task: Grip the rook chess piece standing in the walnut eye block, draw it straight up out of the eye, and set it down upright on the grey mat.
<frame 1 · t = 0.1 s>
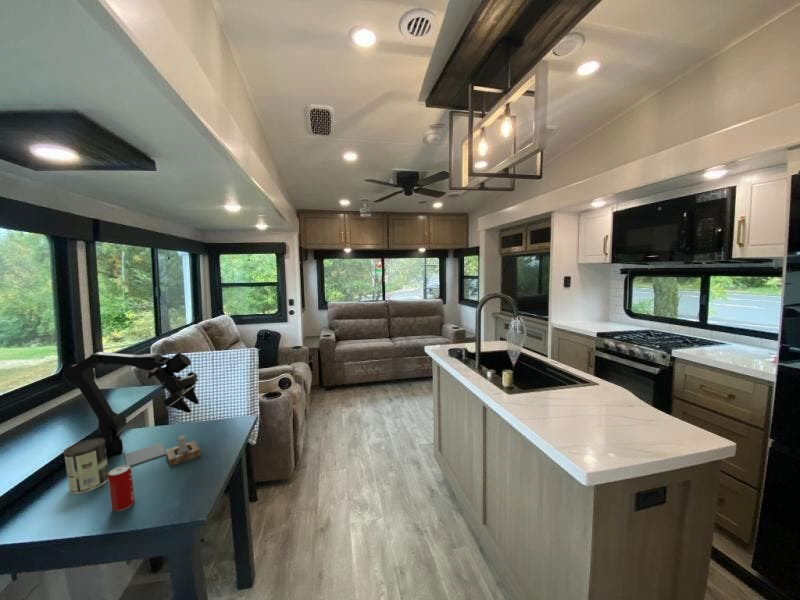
hand: (194, 407, 138), 15 cm above the table, tool tilted 30°, fingers open, 9 cm apart
walnut eye block: (183, 455, 129), on the table
grey mat: (145, 455, 130), on the table
coffee can: (89, 485, 113), on the table
rook chess piece: (183, 456, 129), resting in walnut eye block
soda can: (123, 506, 101), on the table
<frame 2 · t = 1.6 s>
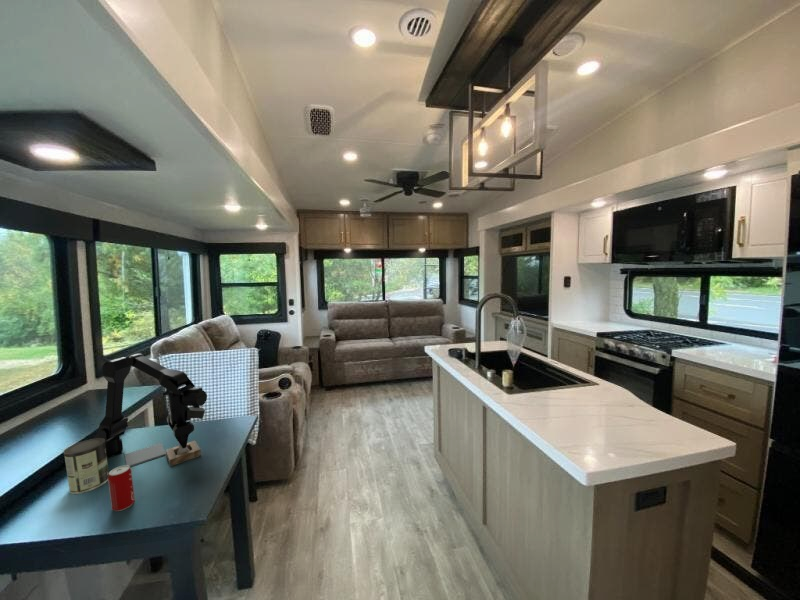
hand: (182, 443, 128), 5 cm above the table, tool pointing down, fingers open, 9 cm apart
nothing on the table moved.
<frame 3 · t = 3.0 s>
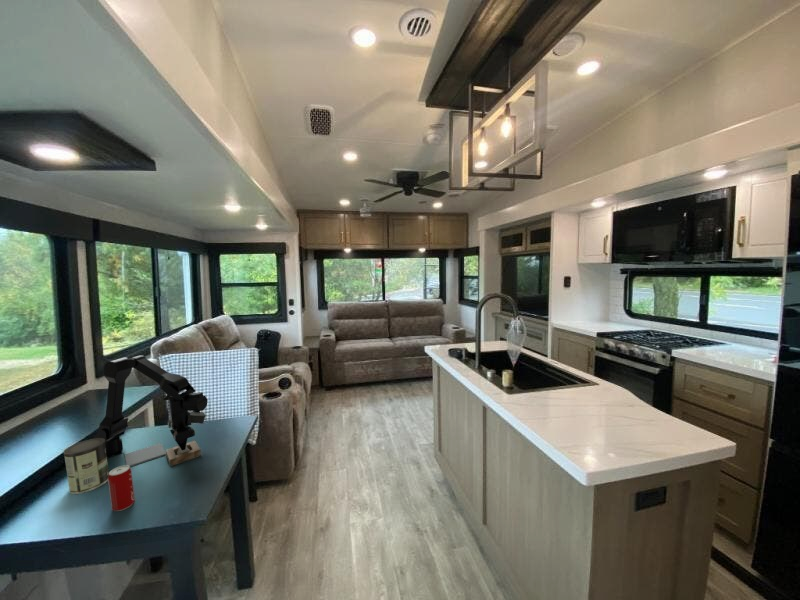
hand: (182, 448, 129), 3 cm above the table, tool pointing down, fingers closed on rook chess piece, 3 cm apart
rook chess piece: (183, 456, 129), resting in walnut eye block, touching gripper
everything else where it was.
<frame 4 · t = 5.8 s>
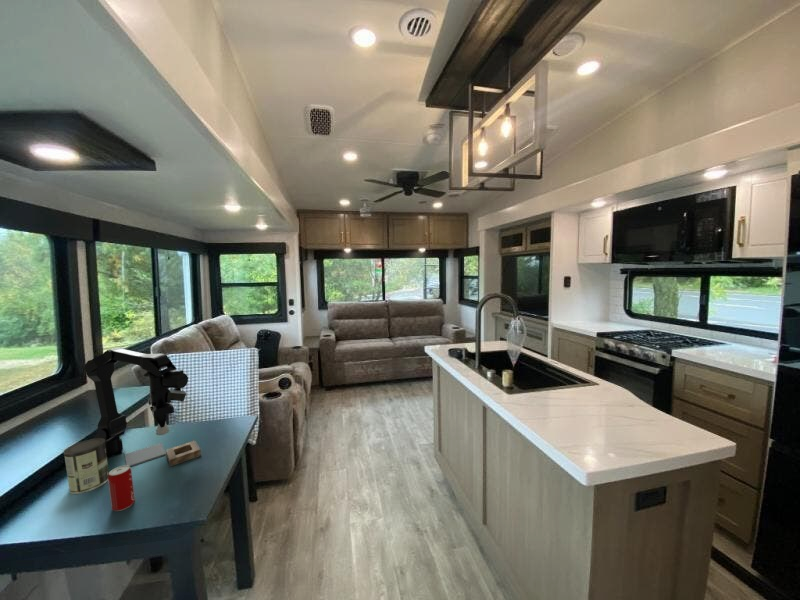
hand: (162, 425, 128), 12 cm above the table, tool pointing down, fingers closed on rook chess piece, 3 cm apart
rook chess piece: (162, 433, 129), point 9 cm above the table, touching gripper
everything else where it was.
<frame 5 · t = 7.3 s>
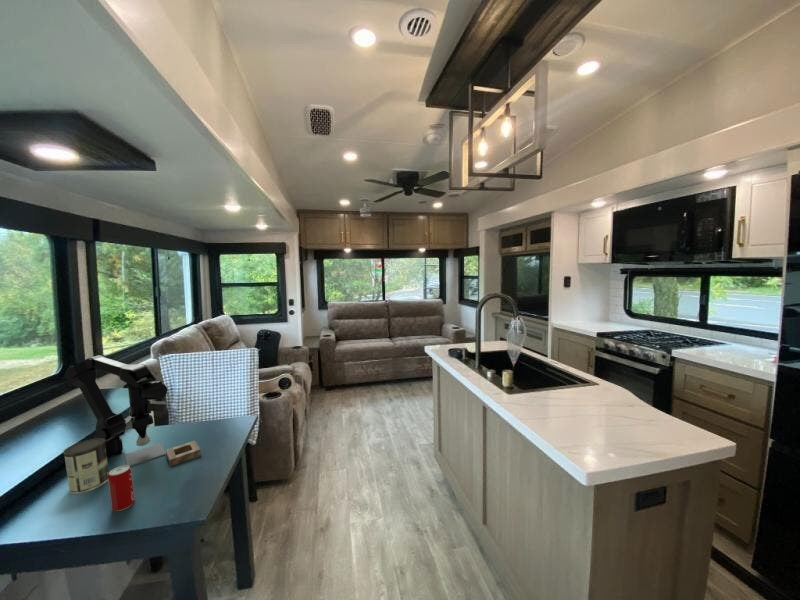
hand: (142, 436, 130), 8 cm above the table, tool pointing down, fingers closed on rook chess piece, 3 cm apart
rook chess piece: (143, 444, 130), point 5 cm above the table, touching gripper
everything else where it was.
when the fingers open (5 cm above the table, at t = 8.4 s): rook chess piece drops 1 cm, resting on grey mat.
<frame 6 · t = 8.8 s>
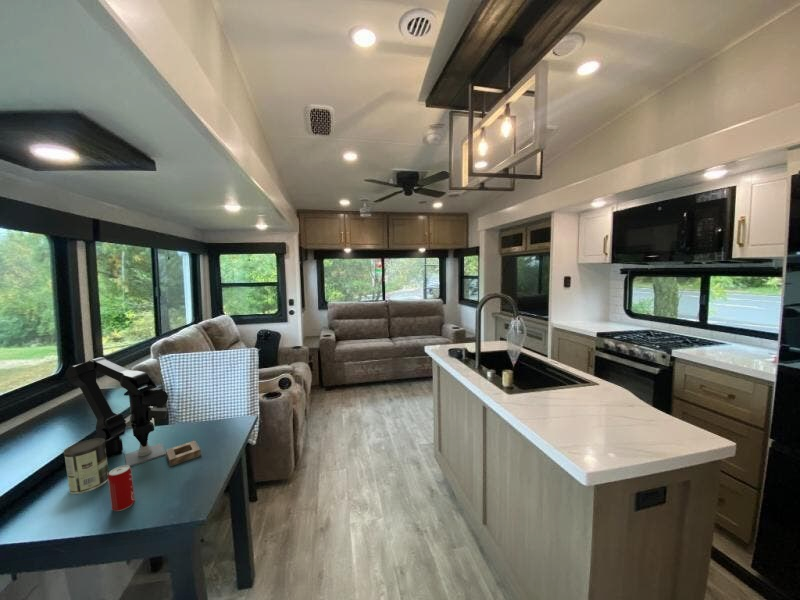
hand: (143, 443, 130), 5 cm above the table, tool pointing down, fingers open, 6 cm apart
rook chess piece: (145, 454, 130), resting on grey mat
everything else where it was.
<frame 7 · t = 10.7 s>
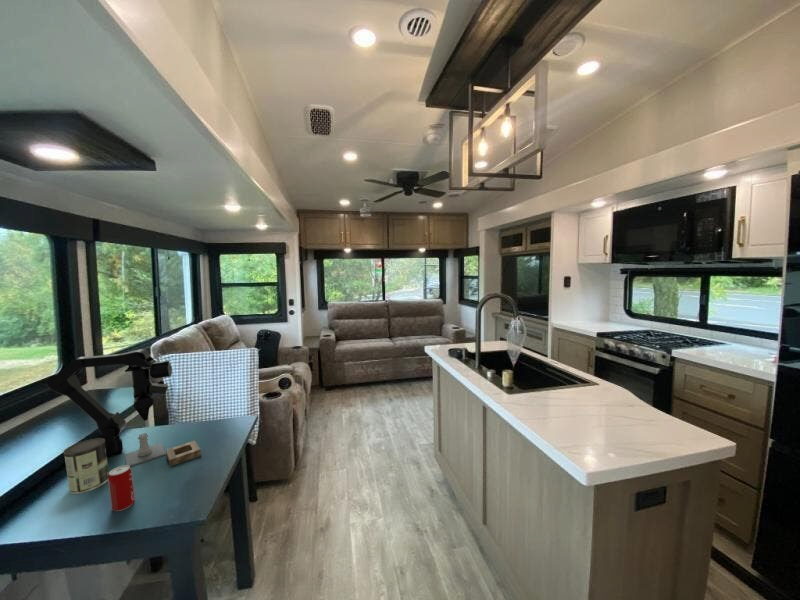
hand: (145, 416, 136), 13 cm above the table, tool pointing down, fingers open, 9 cm apart
nothing on the table moved.
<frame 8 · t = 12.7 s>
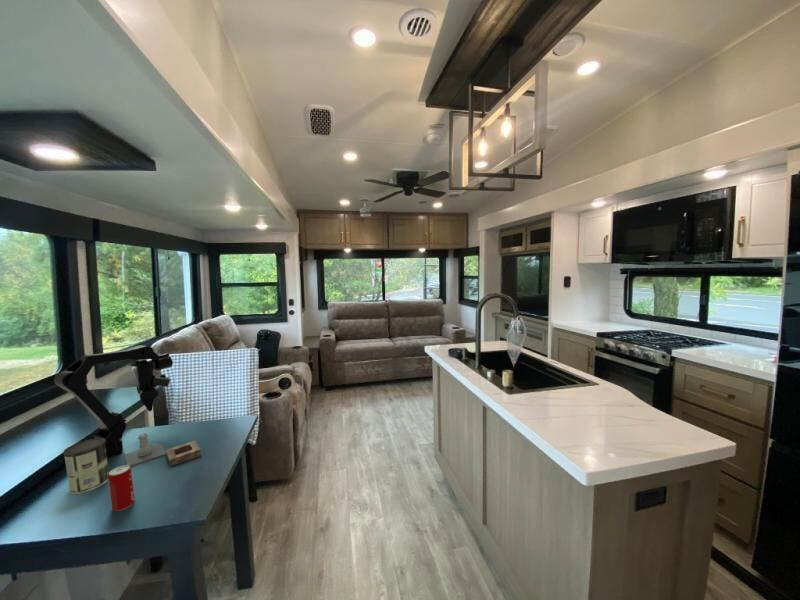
hand: (149, 408, 145), 13 cm above the table, tool pointing down, fingers open, 9 cm apart
nothing on the table moved.
at the end: rook chess piece inside the target area on the grey mat (0.1 cm from its centre), point 0.4 cm above the grey mat's base; rook chess piece tilted 0°; the gripper is holding nothing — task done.
